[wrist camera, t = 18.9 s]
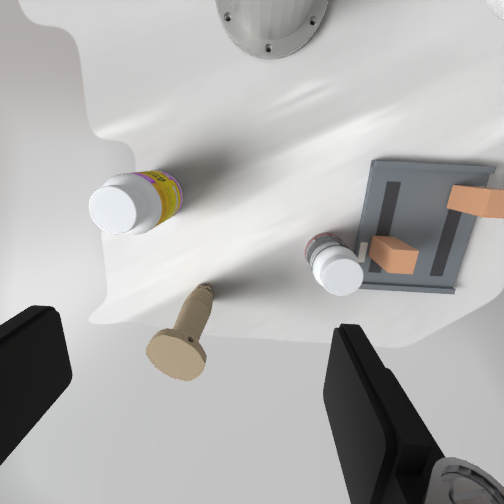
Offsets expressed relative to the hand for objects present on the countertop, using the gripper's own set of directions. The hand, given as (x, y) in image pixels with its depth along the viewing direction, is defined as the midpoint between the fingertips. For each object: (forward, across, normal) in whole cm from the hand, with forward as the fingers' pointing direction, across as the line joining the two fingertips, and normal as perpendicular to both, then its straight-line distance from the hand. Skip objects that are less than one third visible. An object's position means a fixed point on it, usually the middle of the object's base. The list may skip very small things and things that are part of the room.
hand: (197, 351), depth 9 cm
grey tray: (+30, -24, +2) cm, 39 cm away
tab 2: (+29, -28, -3) cm, 41 cm away
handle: (+31, +6, +14) cm, 34 cm away
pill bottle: (+31, -12, +6) cm, 33 cm away
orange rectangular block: (+29, -20, +4) cm, 35 cm away
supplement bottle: (+31, +12, -1) cm, 33 cm away
